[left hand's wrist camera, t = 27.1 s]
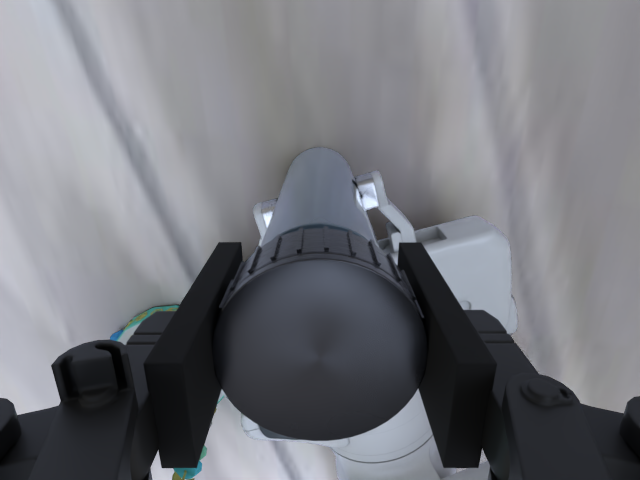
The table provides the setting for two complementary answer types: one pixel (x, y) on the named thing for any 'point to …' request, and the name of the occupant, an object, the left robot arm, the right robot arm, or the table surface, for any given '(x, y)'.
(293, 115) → the table surface
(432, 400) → the left robot arm
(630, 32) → the table surface
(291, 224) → the jar
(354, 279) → the lid
